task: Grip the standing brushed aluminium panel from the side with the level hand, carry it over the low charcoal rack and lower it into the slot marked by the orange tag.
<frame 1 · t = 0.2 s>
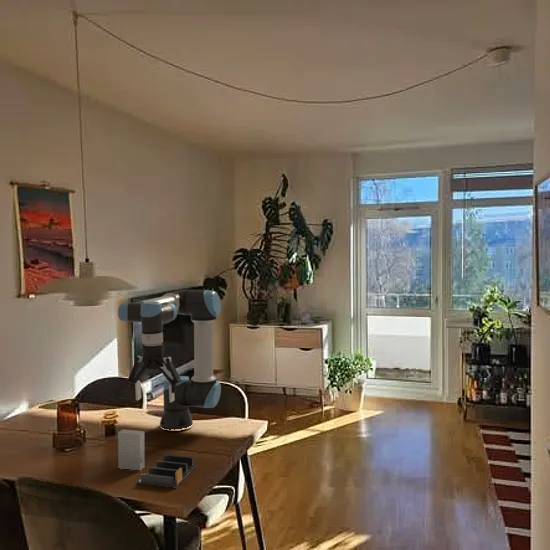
hand: (155, 400, 195), 27 cm above the table, tool pointing down, fingers open, 13 cm apart
rack: (168, 474, 194), on the table
panel: (131, 468, 199), on the table
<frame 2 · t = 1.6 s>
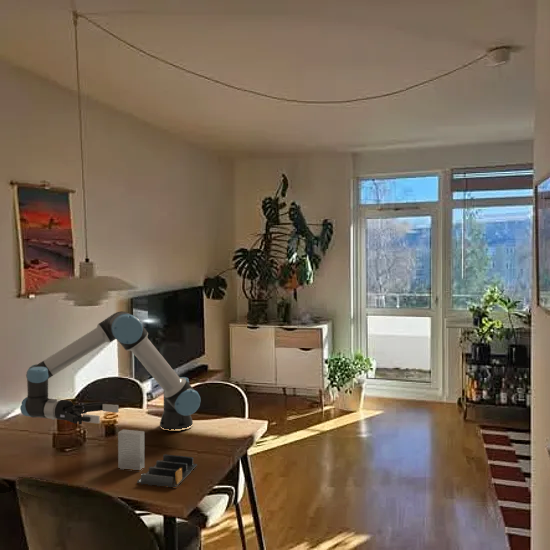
hand: (108, 414, 200), 20 cm above the table, tool horizontal, fingers open, 13 cm apart
nothing on the table moved.
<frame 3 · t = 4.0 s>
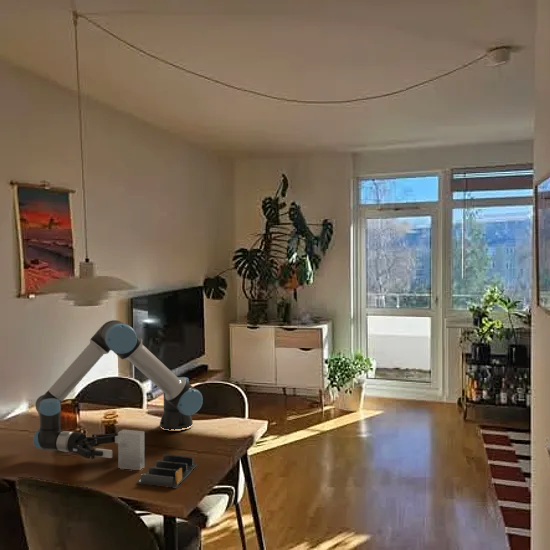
hand: (121, 447, 199), 8 cm above the table, tool horizontal, fingers open, 13 cm apart
nothing on the table moved.
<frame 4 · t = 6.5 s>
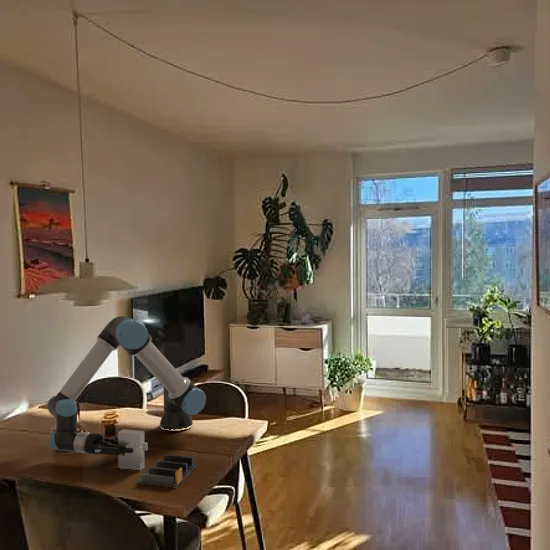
hand: (144, 448, 198), 8 cm above the table, tool horizontal, fingers closed on panel, 3 cm apart
panel: (131, 468, 199), on the table, touching gripper
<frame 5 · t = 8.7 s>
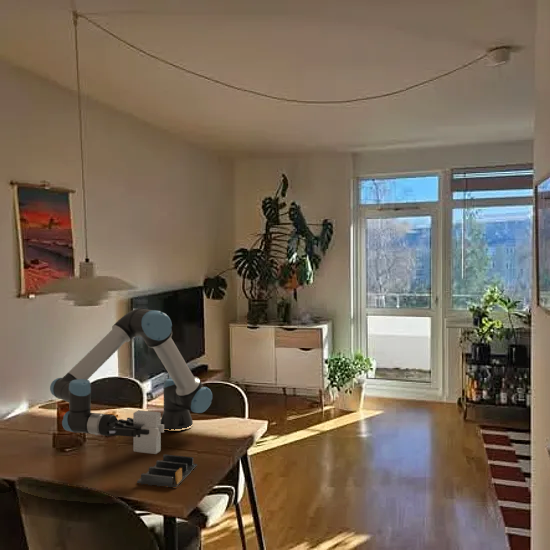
hand: (160, 430, 189), 18 cm above the table, tool horizontal, fingers closed on panel, 3 cm apart
panel: (147, 450, 190), point 10 cm above the table, touching gripper
when the fingers open (10 cm above the table, at t = 11.2 s): panel stays where it is, resting on rack.
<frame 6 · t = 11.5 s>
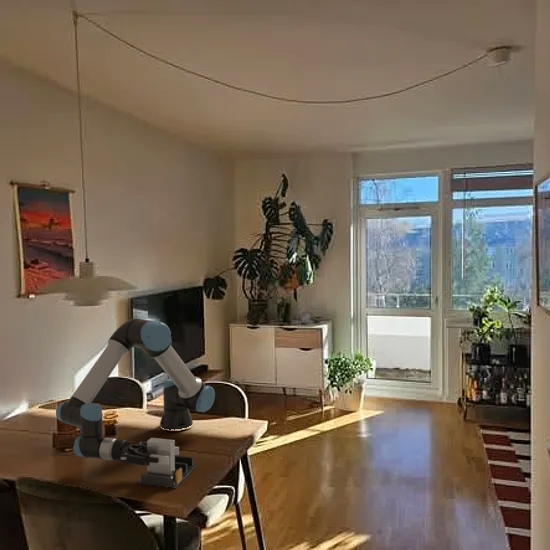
hand: (173, 455, 186), 10 cm above the table, tool horizontal, fingers open, 8 cm apart
panel: (160, 479, 188), point 1 cm above the table, touching rack
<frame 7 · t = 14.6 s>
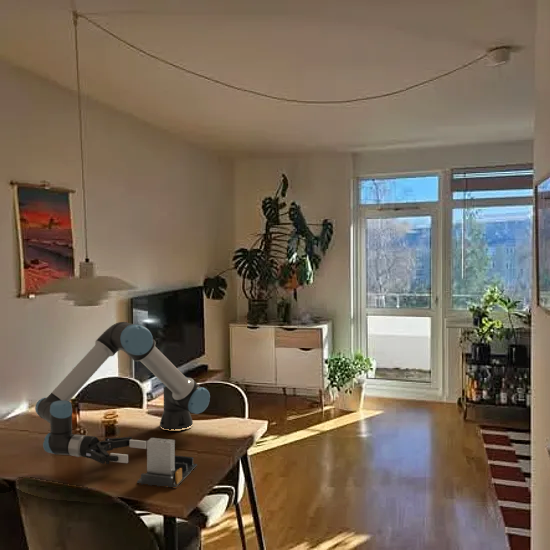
hand: (137, 451, 189), 10 cm above the table, tool horizontal, fingers open, 13 cm apart
nothing on the table moved.
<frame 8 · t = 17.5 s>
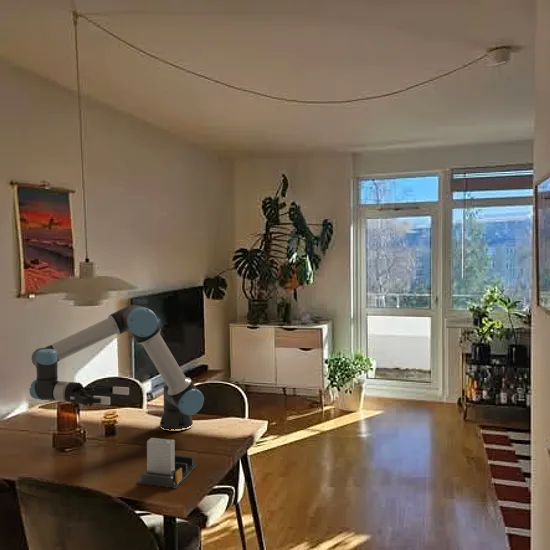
hand: (119, 396, 197), 28 cm above the table, tool horizontal, fingers open, 13 cm apart
nothing on the table moved.
at the end: panel 0.0 cm from the target spot on the rack, point 1.0 cm above the rack's base; panel tilted 0°; the gripper is holding nothing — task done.
